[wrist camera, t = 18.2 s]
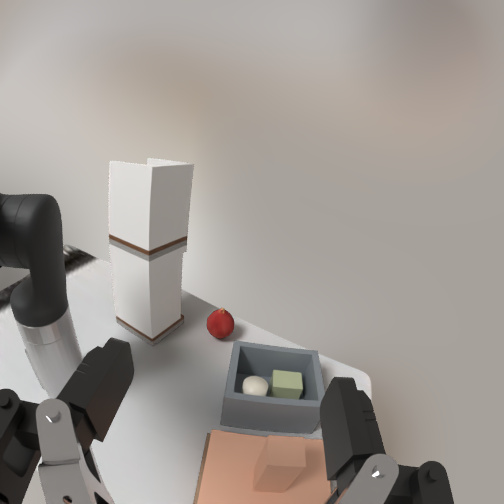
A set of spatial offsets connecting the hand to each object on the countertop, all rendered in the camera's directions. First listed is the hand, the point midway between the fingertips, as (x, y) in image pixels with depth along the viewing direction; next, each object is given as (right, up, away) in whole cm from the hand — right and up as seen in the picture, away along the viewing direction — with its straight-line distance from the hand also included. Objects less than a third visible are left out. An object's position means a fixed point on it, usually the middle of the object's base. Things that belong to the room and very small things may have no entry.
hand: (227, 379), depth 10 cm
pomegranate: (-6, -14, +49) cm, 52 cm away
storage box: (+4, -21, +34) cm, 41 cm away
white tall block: (-22, -11, +49) cm, 55 cm away
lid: (+3, -27, +18) cm, 33 cm away
